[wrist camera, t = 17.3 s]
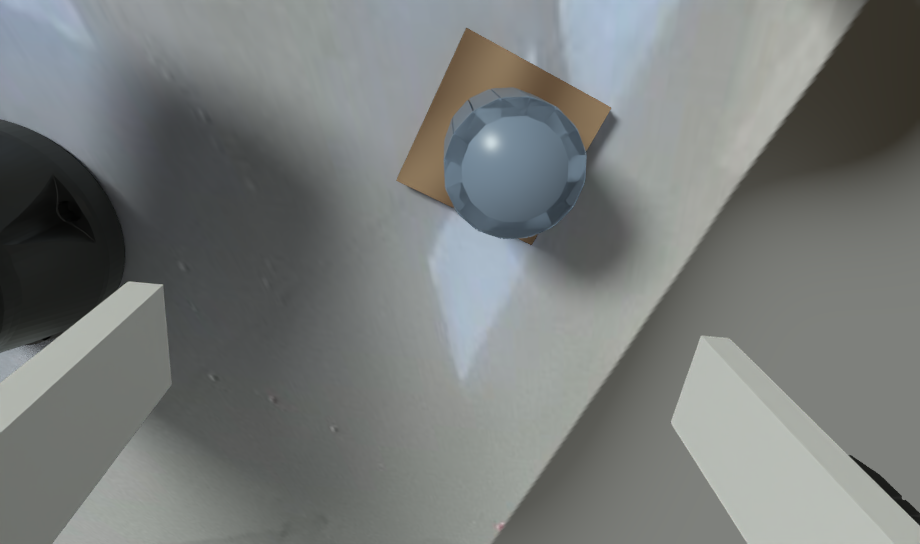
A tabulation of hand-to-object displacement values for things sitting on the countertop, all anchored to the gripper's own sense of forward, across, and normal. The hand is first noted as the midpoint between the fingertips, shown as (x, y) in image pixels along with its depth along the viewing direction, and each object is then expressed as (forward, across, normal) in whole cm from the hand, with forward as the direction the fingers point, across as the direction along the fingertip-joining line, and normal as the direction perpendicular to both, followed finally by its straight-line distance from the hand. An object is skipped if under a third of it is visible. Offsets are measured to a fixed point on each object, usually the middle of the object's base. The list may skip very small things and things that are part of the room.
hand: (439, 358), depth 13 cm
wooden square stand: (+24, +4, +2) cm, 24 cm away
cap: (+22, +4, +2) cm, 22 cm away
